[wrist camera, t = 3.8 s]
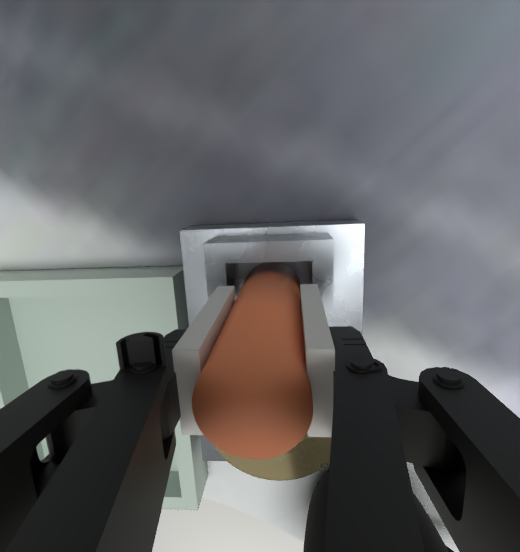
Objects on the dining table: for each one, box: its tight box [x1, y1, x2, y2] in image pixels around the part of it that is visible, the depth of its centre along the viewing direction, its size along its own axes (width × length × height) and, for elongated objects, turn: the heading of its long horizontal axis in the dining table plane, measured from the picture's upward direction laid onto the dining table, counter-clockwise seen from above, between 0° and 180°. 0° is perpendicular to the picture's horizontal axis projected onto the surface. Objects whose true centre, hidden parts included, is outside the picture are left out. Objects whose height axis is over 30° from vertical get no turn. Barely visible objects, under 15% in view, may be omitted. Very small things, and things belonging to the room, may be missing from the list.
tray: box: [0, 265, 208, 510], centre depth 24 cm, size 16×13×3 cm
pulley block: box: [180, 219, 365, 481], centre depth 21 cm, size 15×10×6 cm, turn 3°
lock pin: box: [192, 262, 313, 460], centre depth 15 cm, size 3×3×11 cm
